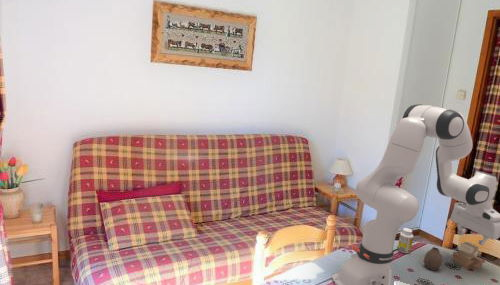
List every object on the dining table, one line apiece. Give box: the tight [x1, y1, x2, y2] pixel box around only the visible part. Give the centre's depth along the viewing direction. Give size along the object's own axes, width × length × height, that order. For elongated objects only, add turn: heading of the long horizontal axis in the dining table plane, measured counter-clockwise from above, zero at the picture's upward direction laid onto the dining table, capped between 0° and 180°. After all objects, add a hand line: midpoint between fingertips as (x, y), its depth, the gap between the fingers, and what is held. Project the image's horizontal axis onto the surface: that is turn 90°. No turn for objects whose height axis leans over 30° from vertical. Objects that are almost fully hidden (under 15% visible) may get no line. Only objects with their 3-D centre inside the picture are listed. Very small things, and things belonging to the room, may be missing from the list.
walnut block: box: [451, 250, 484, 270], centre depth 162 cm, size 8×8×4 cm
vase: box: [423, 246, 444, 271], centre depth 155 cm, size 7×7×9 cm
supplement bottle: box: [397, 227, 414, 254], centre depth 169 cm, size 6×6×10 cm
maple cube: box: [458, 241, 480, 259], centre depth 161 cm, size 5×5×5 cm
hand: (470, 239), depth 160 cm, fingers open, 8 cm apart
